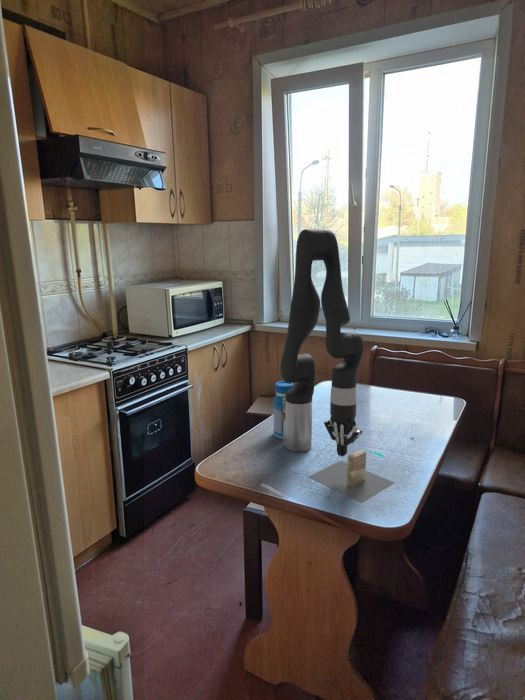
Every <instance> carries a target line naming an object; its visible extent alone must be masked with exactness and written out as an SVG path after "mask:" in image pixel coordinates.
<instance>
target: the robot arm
mask: <svg viewBox="0 0 525 700" xmlns="http://www.w3.org/2000/svg"><path fill="white" fill-rule="evenodd" d="M295 250H296V251H295V265H294V266H295V267H294V282H293V289H292V296H291V301H290V302H291V303H290V309H289V316H288V317H289V318H288V325H287V331H286V332H287V333H286V338H285V342H284V347H283V350H282V351H283V352H282V356H281V361H280V369H279V370H280V372H279V373H280V375H281V380H282V381H285V382H287V383H293V384H294V383H296V384H295V385H294V387H292V388H291V389H289V390H288V391H287V392H286V394H285V419H284V420H283V438H282V441H283V446H285V448H286V449H287V450H288V451H291V452H294V453H295V452H297V453H301V452H307V451H310V450H311V449H312V442H313V441H312V440H313V439H312V435H313V395H314V393H315V379H316V378H315V377H316V364H315V361H314V358H313V356H312V355H311V354H310V353H300V350H301V348H302V346H303V344H304V342H305V341H306V340H307V338H308V337H309V336H310V334H311V333H312V332H313V330H314V329H315V327H316V326H317V323H318V321H319V315H320V310H321V308H322V311H323V315H324V319H325V348H326V351H327V353H328V355H329V356H330V357H331V358H333V359H338V360H339V359H342V361H341V362H339V363H338V364H336V365H334V366H333V368H332V369H331V387H330V401H329V403H330V404H329V405H330V406H329V407H330V408H329V412H330V413H329V414H330V418H329V420H325V421H324V423H323V424H324V426H325V429H326V430H327V432H328V434H329V436H330V438H331V440H333V441H335V442H336V453H337V455H338V456H340V457H344V456H346V455H347V454H348V446H349V445H351V444H354V442H355V441H357V439H359V437H360V436H361V435H362V434H363V430H361V429H359V428H357V422H356V416H357V400H358V399H357V395H358V394H357V373H358V369H359V366H360V363H361V359H362V357H363V353H364V348H365V347H364V340H363V337H362V336H361V335H360V334H359V333H358V332H355V331H350V332H342V331H341V330H342V329H341V327H343V326H345V325H347V324H349V323H350V320H351V316H350V312H349V308H348V305H347V301H346V297H345V293H344V287H343V281H342V280H343V279H342V270H341V269H342V268H341V261H340V253H339V252H340V251H339V244H338V240H337V236H336V234H335V232H334V231H333V230H331V229H328V228H305V229H303V230H301V231H300V232H299V235H298V237H297V241H296V248H295ZM316 261H319V262H320V261H323V264H324V267H325V280H324V283H323V287H322V291H321V293H320V294H321V295H320V296H319V294H318V291H317V289H316V286H315V285H314V282H313V279H312V265H313V262H316ZM299 353H300V354H299Z"/></svg>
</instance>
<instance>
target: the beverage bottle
mask: <svg viewBox="0 0 525 700" xmlns="http://www.w3.org/2000/svg"><path fill="white" fill-rule="evenodd" d="M294 386H295V385H294V382H293V383H287V382H285V381H284V380H279V381H277V382H275V385H274V389H275V390H274V391H275V393H276V394H275V396H274V398H273V399H272V401H273V406H272V411H273V435H274V437H276V438H279V439H283V420H284V419H285V394H286V392H287V391H288V390H289V389H291V388H292V387H294Z"/></svg>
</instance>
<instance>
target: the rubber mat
mask: <svg viewBox="0 0 525 700" xmlns="http://www.w3.org/2000/svg"><path fill="white" fill-rule="evenodd" d="M347 472H348V462H346V461H344V460H338V461H337V462H335V463H333V464H331V465H329V466H326V467H325V468H323V469H320V470H319V471H317V472H314V473H313V474H311V475H308V476H307V478H309V479H310V480H313V481H316V482H318V483H320V484H321V485H324V486H326V487H328V488H330V489H332V490H334V491H337V492H339V493H340V494H343V495H345V496H347V497H349V498H350V499H353V500H356V501H358V502H359V503H361V504H362V503H366V501H368V500H369V499H371V498H373V497H374V496H376V495H377V494H379V493H381V492H382V491H384V490H385V489H387V488H389V487H391V486H392V485H393V484H395V482H394V481H392V480H389V479H387V478H385V477H382V476H379V475H378V474H376V473H375V474H374V473H373V472H370V471H367V470H365V480H364V481H362V482H360V483H359V484H357V485H355V486H353V487H352V486H350V485H347Z"/></svg>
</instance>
